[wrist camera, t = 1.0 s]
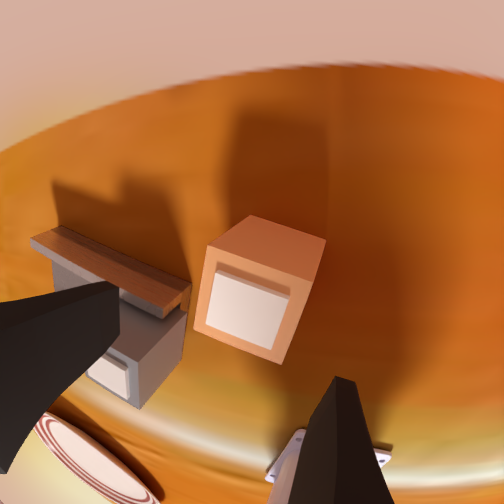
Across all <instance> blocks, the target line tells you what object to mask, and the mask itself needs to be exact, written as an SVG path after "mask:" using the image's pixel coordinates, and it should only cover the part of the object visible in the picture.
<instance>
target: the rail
mask: <svg viewBox="0 0 504 504" xmlns="http://www.w3.org/2000/svg"><path fill="white" fill-rule="evenodd" d="M30 242H31V247H32V248H33V249H35V250H37V251H38V252H40V253H41V254H43V255H45V256H46V257H48V258H50V259H51V260H52V269H53V279H54V288H55V292H57V291H61V290H65V289H69V288H73V287H77V286H82V285H86V284H90V283H95V282H100V281H108V282H110V283H112V284H114V285H116V286H118V287H119V298H121V299H123V300H125V301H127V302H128V303H130V304H132V305H134V306H136V307H138V308H140V309H142V310H144V311H146V312H148V313H150V314H153V315H155V316H157V317H159V318H161V319H163V318H164V317H165V316H167V315H168V314H169V313H170V312H171V311H172V310H173V309H174V308H175V307H176V308H179V309H181V310H183V311H185V312H187V314H188V307H189V300H190V293H191V287H192V283H190V282H187V281H185V280H182V279H180V278H178V277H175V276H173V275H170V274H168V273H166V272H163V271H161V270H159V269H156V268H154V267H152V266H149V265H147V264H145V263H142V262H140V261H138V260H135V259H133V258H131V257H129V256H126V255H124V254H122V253H120V252H117V251H115V250H113V249H111V248H109V247H106V246H104V245H102V244H100V243H98V242H95V241H93V240H91V239H89V238H87V237H85V236H82V235H80V234H78V233H76V232H74V231H72V230H70V229H68V228H66V227H63V226H59V227H56V228H54V229H51V230H49V231H46V232H44V233H41V234H39V235H36V236H34V237H31V238H30ZM186 321H187V319H186ZM185 328H186V326H185ZM184 336H185V333H184ZM183 343H184V341H183ZM182 351H183V349H182ZM181 359H182V357H181Z"/></svg>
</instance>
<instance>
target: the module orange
mask: <svg viewBox="0 0 504 504" xmlns="http://www.w3.org/2000/svg"><path fill="white" fill-rule="evenodd" d="M325 244H326V240H325V239H322V238H319V237H316V236H314V235H311V234H308V233H305V232H302V231H299V230H296V229H293V228H290V227H287V226H284V225H281V224H278V223H275V222H272V221H269V220H266V219H262V218H259V217H256V216H253V215H249V216H248V217H246V218H245V219H244V220H242V221H241V222H239V223H238V224H236V225H235V226H234V227H232V228H231V229H229V230H228V231H227V232H225V233H224V234H222V235H221V236H219V237H218V238H217V239H215V240H214V241H212V242H211V243H210V244H208V246H207V251H206V257H205V262H204V268H203V274H202V279H201V285H200V291H199V297H198V303H197V309H196V315H195V322H194V328H193V329H194V330H196V331H198V332H201V333H203V334H205V335H207V336H210V337H212V338H215V339H217V340H219V341H222V342H224V343H226V344H229V345H231V346H234V347H236V348H239V349H241V350H244V351H246V352H249V353H251V354H254V355H256V356H259V357H262V358H264V359H267V360H270V361H272V362H275V363H278V364H280V365H282V362H283V360H284V357H285V355H286V352H287V350H288V348H289V345H290V343H291V340H292V338H293V335H294V332H295V330H296V327H297V325H298V322H299V320H300V317H301V314H302V312H303V309H304V306H305V304H306V301H307V298H308V296H309V293H310V290H311V288H312V285H313V282H314V279H315V276H316V273H317V270H318V266H319V263H320V260H321V257H322V254H323V250H324V247H325Z"/></svg>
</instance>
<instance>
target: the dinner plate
mask: <svg viewBox="0 0 504 504" xmlns="http://www.w3.org/2000/svg"><path fill="white" fill-rule="evenodd" d="M34 430H35V432H36V433H37V435H38V436H39V437H40V439H41V440H42V441H43V443H44V444H45V445H46V446H47V448H48V449H49V450H50V451H51V452H52V453H53V454H54V455H55V457H56V458H57V459H58V460H59V461H60V462H61V463H62V464H63V465H64V466H65V467H66V468H68V469H69V470H70V471H71V472H72V473H73V474H74V475H76V476H77V477H78V478H79V479H81V480H82V481H83V482H84V483H86V484H87V485H89V486H90V487H91V488H93V489H94V490H96V491H97V492H99V493H100V494H102V495H103V496H105V497H107V498H108V499H110V500H112V501H114V502H115V503H117V504H161V503H160V502H159V500H158V499H157V498H156V497H155V496H154V495H153V494H152V493H151V491H150V490H149V489H148V488H147V487H146V486H145V485H144V484H143V483H142V482H141V480H139V479H138V477H137V476H136V475H135V474H134V473H133V472H132V471H131V470H130V469H129V468H128V467H127V466H126V465H125V464H124V463H123V462H121V461H120V460H119V459H118V458H117V457H116V456H115V455H113V454H112V453H111V452H110V451H108V450H107V449H106V448H105V447H103V446H102V445H101V444H100V443H98V442H97V441H96V440H94V439H93V438H92V437H90V436H89V435H87V434H86V433H84V432H83V431H81V430H80V429H78V428H77V427H75V426H73V425H71V424H69V423H67V422H66V421H64V420H62V419H61V418H59V417H57V416H55V415H53V414H51V413H49V412H47V411H46V412H45V413H44V414H43V416H42V417H41V418H40V420H39V421H38V422H37V424H36V425H35V426H34Z"/></svg>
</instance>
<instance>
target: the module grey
mask: <svg viewBox="0 0 504 504" xmlns="http://www.w3.org/2000/svg"><path fill="white" fill-rule="evenodd" d="M119 308H120V335H119V336H118V337H117V339H116V340H115V341H114V343H113V344H112V345H111V346H110V347H109V349H108V350H107V351H106V352H105V353H104V355H103V356H101V357H100V358H99V359H98V360H97V361H96V362H95V363H94V364H93V365H92V366H91V367H90V368H89V369H88V370H86V371H85V373H86V376H87V377H88V378H90V379H91V380H93V381H94V382H96V383H97V384H99V385H100V386H102V387H103V388H105V389H106V390H108V391H109V392H111V393H112V394H114V395H116V396H117V397H119V398H120V399H122V400H124V401H125V402H127V403H129V404H130V405H132V406H134V407H136V408H137V409H139V410H140V409H141V408H142V407H143V405H144V404H145V403H146V402H147V401H148V399H149V398H150V397H151V396H152V395H153V393H154V392H155V391H156V390H157V389H158V387H159V386H160V385H161V384H162V383H163V381H164V380H165V379H166V378H167V376H168V375H169V374H170V373H171V372H172V370H173V369H174V368H175V367H176V366H177V364H178V363H179V362H180V361H181V357H182V349H183V341H184V333H185V326H186V319H187V312H185V311H183V310H181V309H179V308H176V307H175V308H174V309H173V310H172V311H171V312H170V313H169V314H168V315H167V316H165V317H164V318H163V319H161V318H159V317H157V316H155V315H153V314H150V313H148V312H146V311H144V310H142V309H140V308H138V307H136V306H134V305H132V304H130V303H128V302H127V301H125V300H123V299H121V298H119Z"/></svg>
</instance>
